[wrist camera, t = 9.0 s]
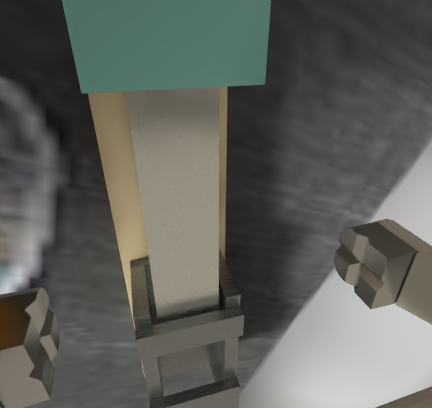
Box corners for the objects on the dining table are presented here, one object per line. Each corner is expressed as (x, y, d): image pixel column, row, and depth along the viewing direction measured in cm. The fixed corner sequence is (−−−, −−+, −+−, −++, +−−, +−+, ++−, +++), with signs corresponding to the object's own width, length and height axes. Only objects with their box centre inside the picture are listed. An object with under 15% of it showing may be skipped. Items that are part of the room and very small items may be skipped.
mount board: (144, 369, 31) (144, 377, 30) (53, -88, 14) (50, -94, 13) (221, 350, 32) (223, 356, 32) (225, -75, 16) (230, -79, 15)
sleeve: (150, 372, 30) (157, 445, 25) (129, 260, 23) (133, 328, 18) (217, 355, 31) (237, 419, 26) (217, 245, 24) (245, 303, 19)
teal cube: (94, 69, 17) (81, 93, 11) (68, -73, 14) (30, -151, 8) (216, 65, 19) (264, 84, 12) (215, -63, 16) (279, -122, 10)
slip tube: (155, 305, 24) (161, 351, 21) (112, 4, 14) (110, -3, 11) (205, 295, 25) (219, 337, 22) (197, 5, 15) (221, -1, 12)
